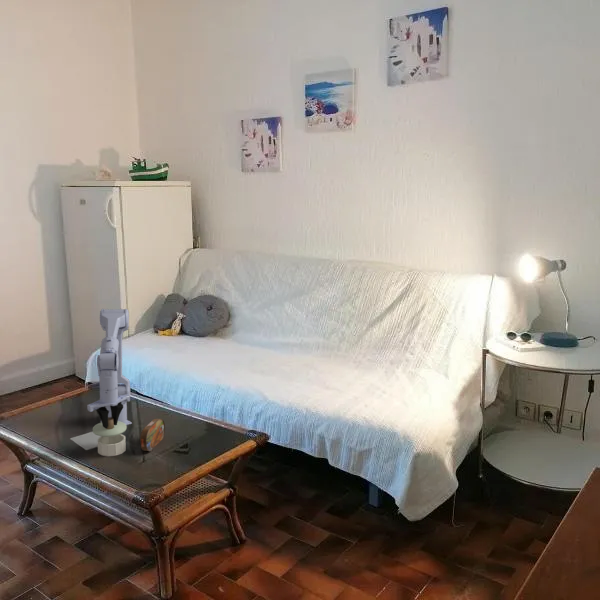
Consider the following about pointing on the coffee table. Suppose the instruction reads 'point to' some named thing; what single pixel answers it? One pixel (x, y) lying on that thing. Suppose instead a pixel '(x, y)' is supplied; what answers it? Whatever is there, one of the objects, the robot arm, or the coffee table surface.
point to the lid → (109, 428)
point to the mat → (87, 440)
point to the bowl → (111, 445)
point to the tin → (152, 434)
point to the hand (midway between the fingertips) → (109, 425)
